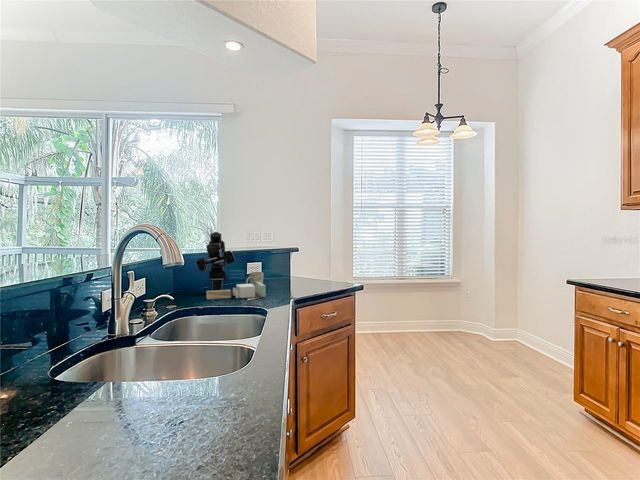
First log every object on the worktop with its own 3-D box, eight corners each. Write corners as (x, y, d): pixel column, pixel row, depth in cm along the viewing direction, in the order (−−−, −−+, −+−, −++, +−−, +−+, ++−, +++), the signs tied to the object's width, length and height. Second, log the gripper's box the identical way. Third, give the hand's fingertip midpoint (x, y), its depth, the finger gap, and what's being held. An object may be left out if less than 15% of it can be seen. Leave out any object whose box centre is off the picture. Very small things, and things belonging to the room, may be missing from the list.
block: (232, 295, 200) (232, 284, 200) (251, 293, 204) (251, 283, 204) (236, 298, 191) (235, 287, 191) (255, 296, 195) (255, 286, 195)
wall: (255, 292, 207) (255, 282, 207) (259, 292, 208) (259, 281, 208) (261, 297, 194) (261, 285, 194) (265, 296, 195) (265, 285, 195)
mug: (266, 289, 218) (266, 272, 217) (252, 292, 207) (251, 274, 207) (256, 288, 222) (256, 271, 222) (241, 291, 212) (240, 273, 211)
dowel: (206, 298, 191) (206, 291, 191) (229, 296, 196) (229, 289, 196) (207, 300, 188) (207, 292, 188) (231, 298, 193) (231, 290, 193)
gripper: (193, 245, 195) (191, 260, 181) (228, 236, 197) (228, 249, 183) (200, 263, 200) (198, 278, 187) (234, 253, 202) (235, 268, 189)
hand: (215, 268), depth 186 cm, fingers open, 9 cm apart
